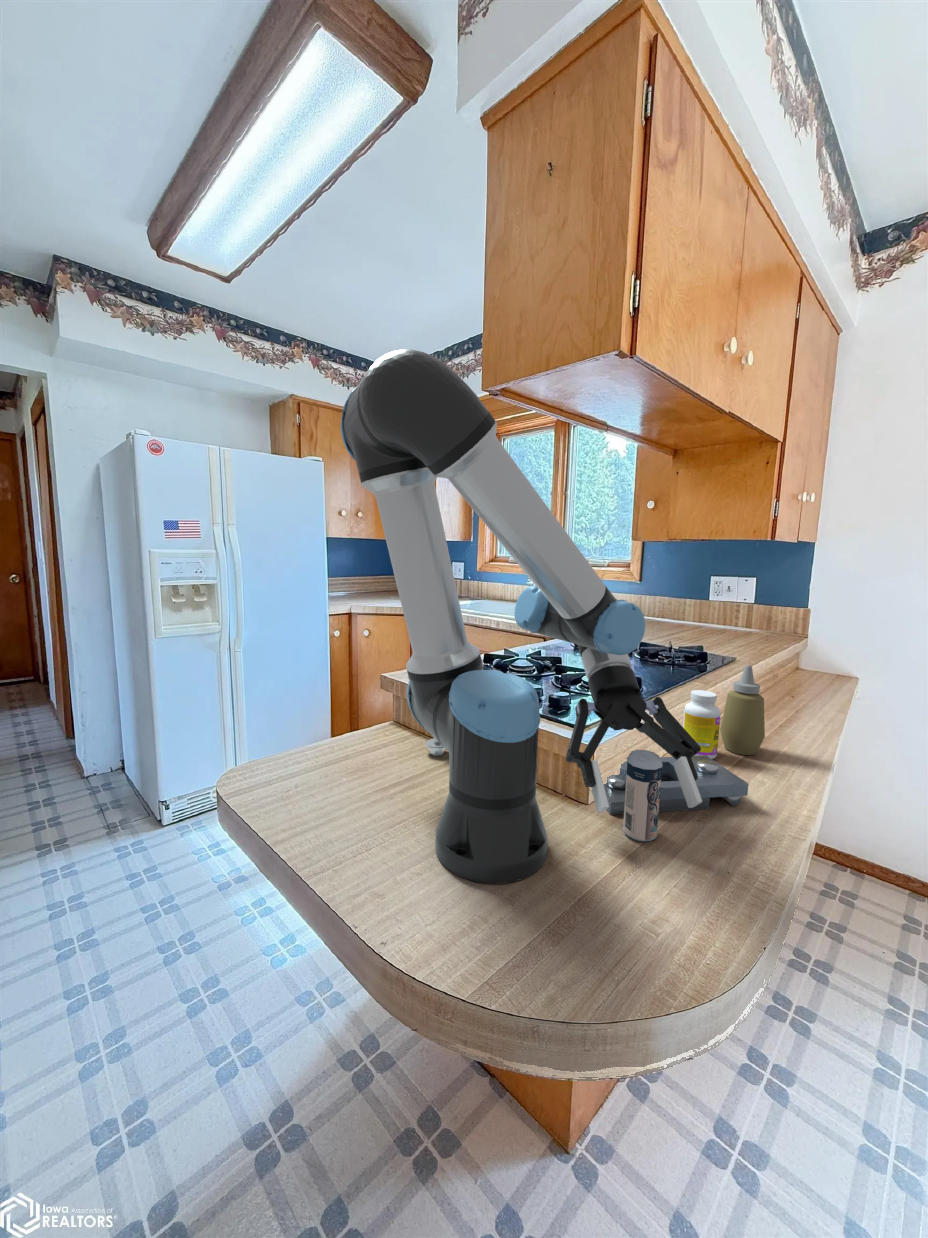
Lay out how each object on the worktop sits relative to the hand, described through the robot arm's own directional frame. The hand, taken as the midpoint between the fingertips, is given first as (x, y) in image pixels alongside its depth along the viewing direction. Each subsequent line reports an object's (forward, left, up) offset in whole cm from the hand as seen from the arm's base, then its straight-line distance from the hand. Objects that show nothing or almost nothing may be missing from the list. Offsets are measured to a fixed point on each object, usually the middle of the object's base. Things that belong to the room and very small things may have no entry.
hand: (649, 807), depth 67 cm
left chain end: (+6, +13, -5) cm, 15 cm away
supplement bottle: (+26, +28, -5) cm, 39 cm away
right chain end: (+12, +13, -5) cm, 19 cm away
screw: (-27, +33, -5) cm, 43 cm away
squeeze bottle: (+36, +29, -5) cm, 47 cm away
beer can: (0, +2, -5) cm, 6 cm away
